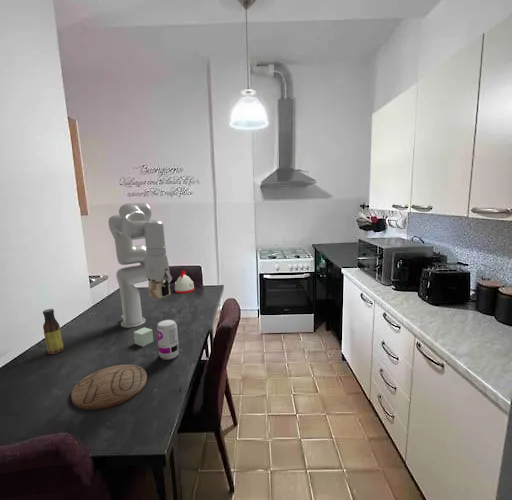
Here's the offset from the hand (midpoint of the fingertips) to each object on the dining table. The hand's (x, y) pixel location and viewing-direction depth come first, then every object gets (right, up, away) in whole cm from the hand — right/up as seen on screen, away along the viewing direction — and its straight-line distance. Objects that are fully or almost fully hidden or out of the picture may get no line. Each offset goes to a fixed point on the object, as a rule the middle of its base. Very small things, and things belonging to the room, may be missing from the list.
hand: (160, 293), depth 129 cm
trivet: (-13, -32, -16) cm, 38 cm away
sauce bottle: (-52, -28, +12) cm, 60 cm away
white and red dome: (-13, -12, +99) cm, 100 cm away
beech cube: (0, -1, 0) cm, 1 cm away
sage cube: (-13, -26, +18) cm, 34 cm away
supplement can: (+2, -28, +5) cm, 28 cm away
